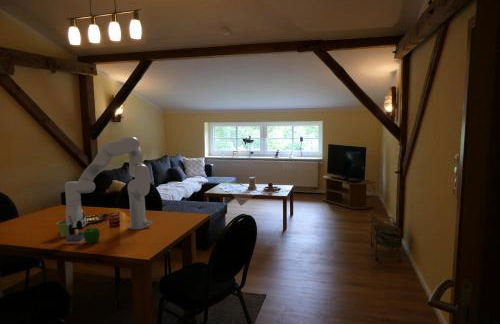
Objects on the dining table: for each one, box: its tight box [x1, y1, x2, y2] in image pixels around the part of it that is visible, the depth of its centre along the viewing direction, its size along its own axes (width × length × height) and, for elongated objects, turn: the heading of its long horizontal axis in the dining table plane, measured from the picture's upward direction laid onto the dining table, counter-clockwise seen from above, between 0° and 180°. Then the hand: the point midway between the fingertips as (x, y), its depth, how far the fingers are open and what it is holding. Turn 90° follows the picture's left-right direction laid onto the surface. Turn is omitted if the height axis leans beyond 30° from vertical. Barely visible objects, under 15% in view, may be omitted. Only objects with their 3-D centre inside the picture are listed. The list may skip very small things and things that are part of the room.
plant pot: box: [56, 219, 72, 238], centre depth 201 cm, size 9×9×9 cm
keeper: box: [62, 229, 86, 245], centre depth 192 cm, size 10×10×6 cm
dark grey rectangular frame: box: [65, 231, 84, 241], centre depth 192 cm, size 6×8×3 cm
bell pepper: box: [83, 224, 100, 245], centre depth 189 cm, size 8×8×10 cm
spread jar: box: [74, 209, 87, 229], centre depth 216 cm, size 12×11×12 cm
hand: (75, 231), depth 192 cm, fingers open, 7 cm apart
